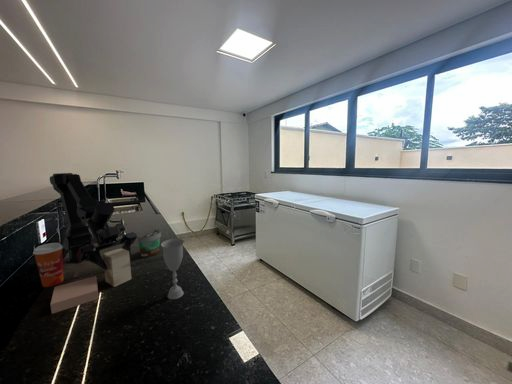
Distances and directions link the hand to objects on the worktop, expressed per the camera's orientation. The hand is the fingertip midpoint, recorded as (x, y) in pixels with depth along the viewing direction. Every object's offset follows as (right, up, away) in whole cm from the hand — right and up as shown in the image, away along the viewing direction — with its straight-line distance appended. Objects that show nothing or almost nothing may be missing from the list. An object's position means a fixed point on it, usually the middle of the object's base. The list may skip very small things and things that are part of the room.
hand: (119, 264), depth 77 cm
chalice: (+23, -8, -7) cm, 25 cm away
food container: (+1, -3, +24) cm, 25 cm away
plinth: (-9, -8, -8) cm, 14 cm away
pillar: (-1, -6, +2) cm, 7 cm away
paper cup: (-24, -7, 0) cm, 25 cm away
